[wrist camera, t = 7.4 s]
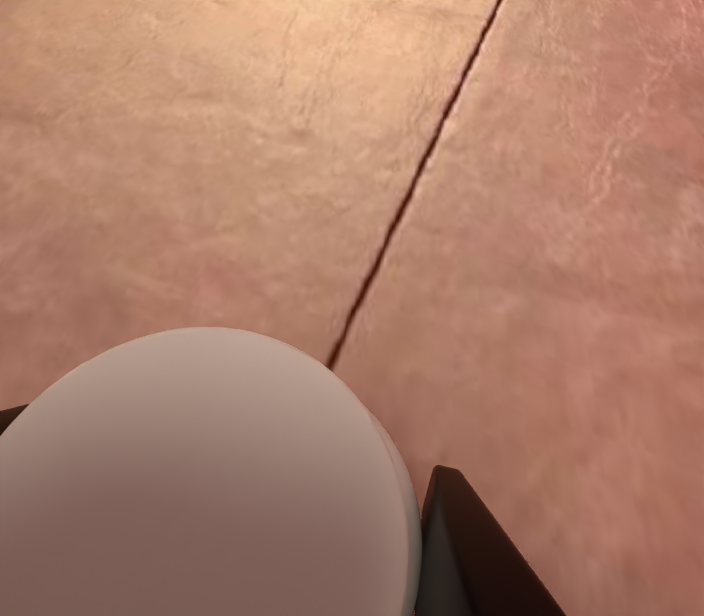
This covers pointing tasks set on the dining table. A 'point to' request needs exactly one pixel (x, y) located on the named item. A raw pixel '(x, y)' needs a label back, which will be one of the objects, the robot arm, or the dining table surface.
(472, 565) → the robot arm
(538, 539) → the dining table surface
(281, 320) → the dining table surface
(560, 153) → the dining table surface
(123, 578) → the pill bottle
